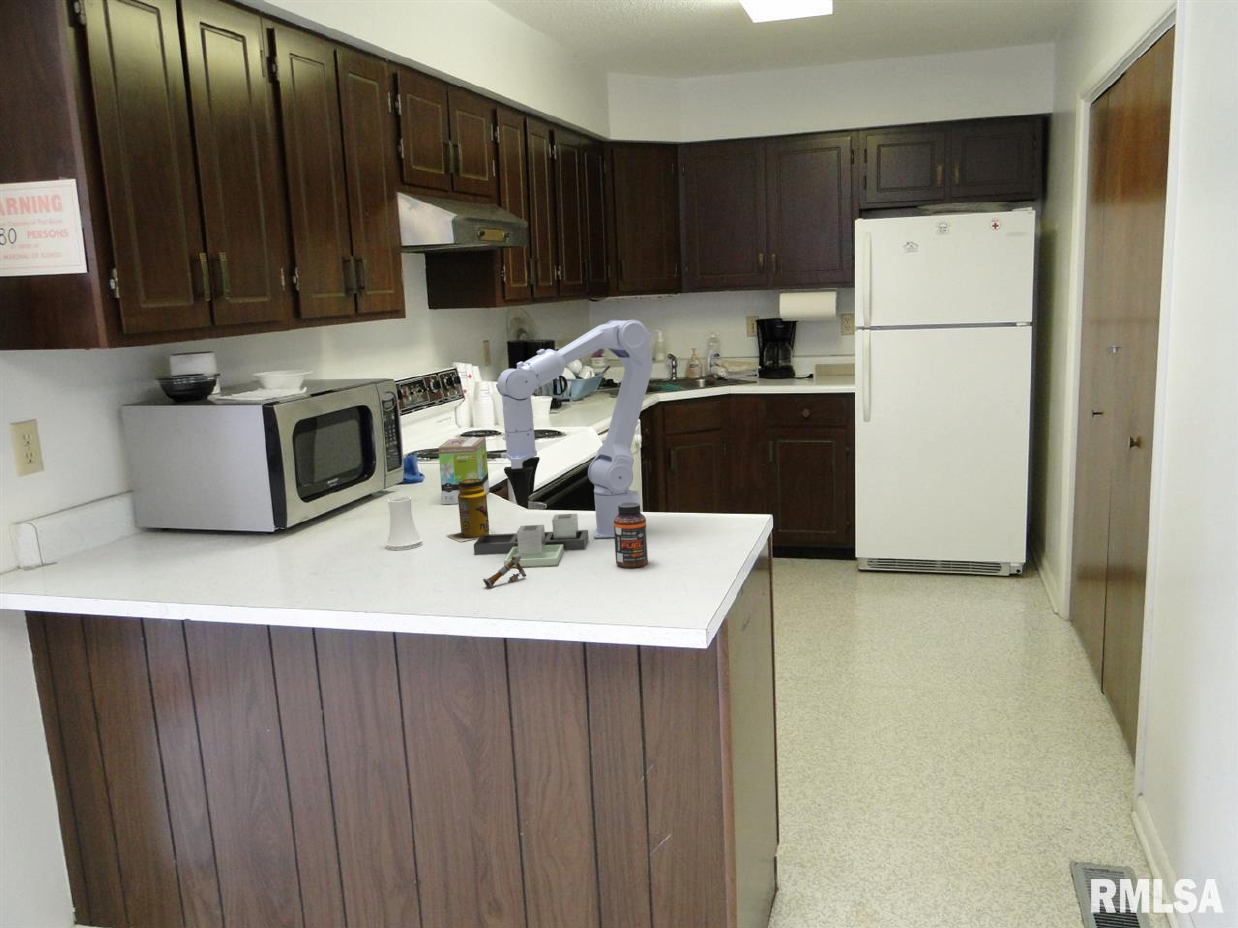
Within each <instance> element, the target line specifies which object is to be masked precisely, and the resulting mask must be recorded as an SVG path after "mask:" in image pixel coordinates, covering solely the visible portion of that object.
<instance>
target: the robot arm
mask: <svg viewBox="0 0 1238 928" xmlns="http://www.w3.org/2000/svg"><path fill="white" fill-rule="evenodd" d="M651 338H652V336H651V334H650V332H649V331H648V329H647V327H646V326H645V324H643V322H641V321H639V320H637V319H629V320H619V319H611V320H609V321H608V322H606V323H602V324H600V325H598V326H596V327H594V328H592V329H591V330H589V331H587V332H586V333H584V334H583V335H581V336H580V337H578V338H577V339H575V340H572V342H570V343H568V344H567V345H565V346H563V347H562V348H560V349H558V350H554V349H551V348H547V349H544V348H540V349H539V350H537V351H536V354H537V355H535V356H532V357H531V358H529V359H527V360H525V361H519V362H517V363H516V368H507V369H505V370H503V371H502V372H501V373H500V376H499V377H498V378H497V383H495V387H496V390H497V392H498V394H500V396H501V399H502V414H503V415H502V417H503V426H504V427H503V428H504V437H505V438H504V439H505V449H506V452H501V453H500V458H502V459H503V458H506V459H508V460H509V461H510V466H505V467H504V468H503V471H504V475H505V476H506V477H507V478H508V481H509V483H510V484H511V487H512V492H513V496H514V498H515V501H516V503H517V504H519V503H520V504H522V503H528V501H529V495H534V494H533V493H534V490H535V479H536V474H537V473H536V472H537V468H538V465H539V463H540V460H541V459H540V456H538V451H537V450H536V437H535V427H534V426H535V425H534V417H533V406H532V403H533V402H532V395H533V394H534V392H535V391H536V390H537V389H539V388H541V387H542V386H545V385H546V384H548V383H549V382H551V381H553V380H555V379H557V378H558V377H560V376H561V375H563V374H564V372H565V368H566V366H567V365H569V364H571V363H573V362H575V361H577V360H579V359H581V358H583V357H585V356H587V355H589V354H591V353H593V352H596V351H597V350H599V349H607V350H609V351H610V352H611V353H612V354H613V355H614V356H615V357H617V359H618V360H619V361H620V363H621V365H622V366H623V368H624V372H623V376H622V380H621V383H620V387H619V391H618V393H617V397H616V402H615V404H614V409H613V412H612V415H611V416H612V417H611V420H610V423H609V428H608V431H607V434H606V438H605V441H604V442H603V444H602V445H601V446H600V447H599V448H598V449H597V452H596V455H595V457H594V459H593V460H592V462H590V463H589V466H588V469H587V476H588V480H589V481H590V482H591V483H592V485H594V489H593V493H594V495H593V496H594V506H595V507H594V509H595V511H594V512H595V522H596V523H595V524H596V528H595V531H594V533H593V538H594V539H602V538H605V539H607V538H608V539H609V538H615V535H614V519H615V517H616V516H618V514H619V512H618V505H619V504H621V503H627V502H635V503H639V504H640V505H641V501H640V492H639V490H630V487H631V486H632V484H633V481H634V471H633V468H634V467H633V465H634V462H635V459H634V455H633V453H632V450H631V449H632V444H633V440H634V437H635V433H636V429H637V425H638V422H639V419H640V415H641V412H642V408H643V404H644V400H645V397H646V392H647V389H648V386H649V383H650V379H651V374H652V371H653V367H654V366H653V365H654V364H653V359H652V358H653V357H652V352H651V345H650V343H651Z"/></svg>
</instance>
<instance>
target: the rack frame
mask: <svg viewBox="0 0 1238 928" xmlns="http://www.w3.org/2000/svg"><path fill="white" fill-rule="evenodd" d="M578 532H579V539H563V540H554V537H553V531H545V542H546V545H563V546H564V550H566V551H583V550H586V547H587V544H588V543H589V540H588V539H589V530H588V529H582V530H581V529H578ZM512 547H518V539H517V532H515V533H514V532H513V533H495V534H490V535H481V536H480V538H478V539H476V541H475V543H474V544H473V552H474V553H473V554H474V555H497V554H508V553H509V552H510V550H511V549H512Z"/></svg>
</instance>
